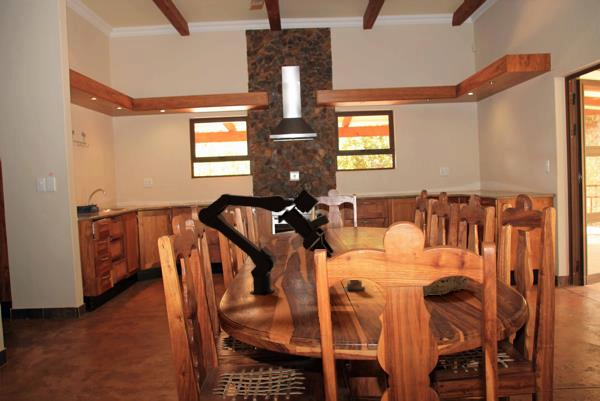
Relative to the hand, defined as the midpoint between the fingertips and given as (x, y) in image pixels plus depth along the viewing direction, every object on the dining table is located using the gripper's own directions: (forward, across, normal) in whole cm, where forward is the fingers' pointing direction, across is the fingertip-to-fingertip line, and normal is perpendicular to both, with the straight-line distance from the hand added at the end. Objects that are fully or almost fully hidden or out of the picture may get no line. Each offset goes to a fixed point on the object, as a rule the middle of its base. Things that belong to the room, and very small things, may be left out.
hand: (331, 254), depth 158 cm
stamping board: (+11, 0, +7) cm, 13 cm away
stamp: (+14, 0, +3) cm, 14 cm away
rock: (+34, +3, -15) cm, 38 cm away
